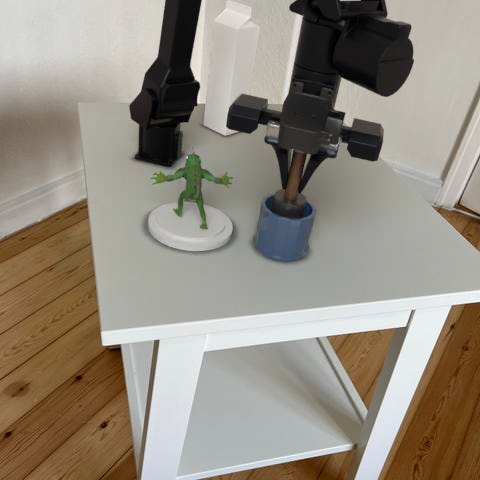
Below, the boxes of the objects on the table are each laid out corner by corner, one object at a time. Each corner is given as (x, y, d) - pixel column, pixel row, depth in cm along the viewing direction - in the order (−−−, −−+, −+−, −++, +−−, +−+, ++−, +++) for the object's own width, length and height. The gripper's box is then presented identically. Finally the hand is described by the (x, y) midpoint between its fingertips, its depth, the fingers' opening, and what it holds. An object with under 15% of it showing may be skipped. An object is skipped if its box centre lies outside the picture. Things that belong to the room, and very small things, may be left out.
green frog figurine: (225, 208, 85) (233, 144, 79) (238, 252, 76) (249, 183, 70) (146, 205, 83) (148, 138, 76) (150, 250, 74) (152, 179, 67)
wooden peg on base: (266, 226, 75) (280, 153, 68) (272, 211, 78) (286, 140, 72) (298, 234, 75) (315, 161, 68) (302, 219, 78) (319, 147, 71)
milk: (224, 136, 107) (240, 8, 93) (202, 125, 109) (214, -1, 95) (245, 130, 111) (263, 6, 96) (223, 119, 113) (237, -3, 99)
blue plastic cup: (249, 254, 76) (256, 212, 72) (260, 228, 82) (267, 188, 78) (302, 266, 76) (312, 225, 72) (308, 239, 81) (318, 200, 77)
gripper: (222, 67, 58) (207, 201, 68) (399, 105, 56) (357, 236, 66) (245, 43, 66) (229, 165, 76) (399, 75, 65) (362, 196, 75)
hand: (292, 190), depth 73 cm, fingers closed on wooden peg on base, 2 cm apart
